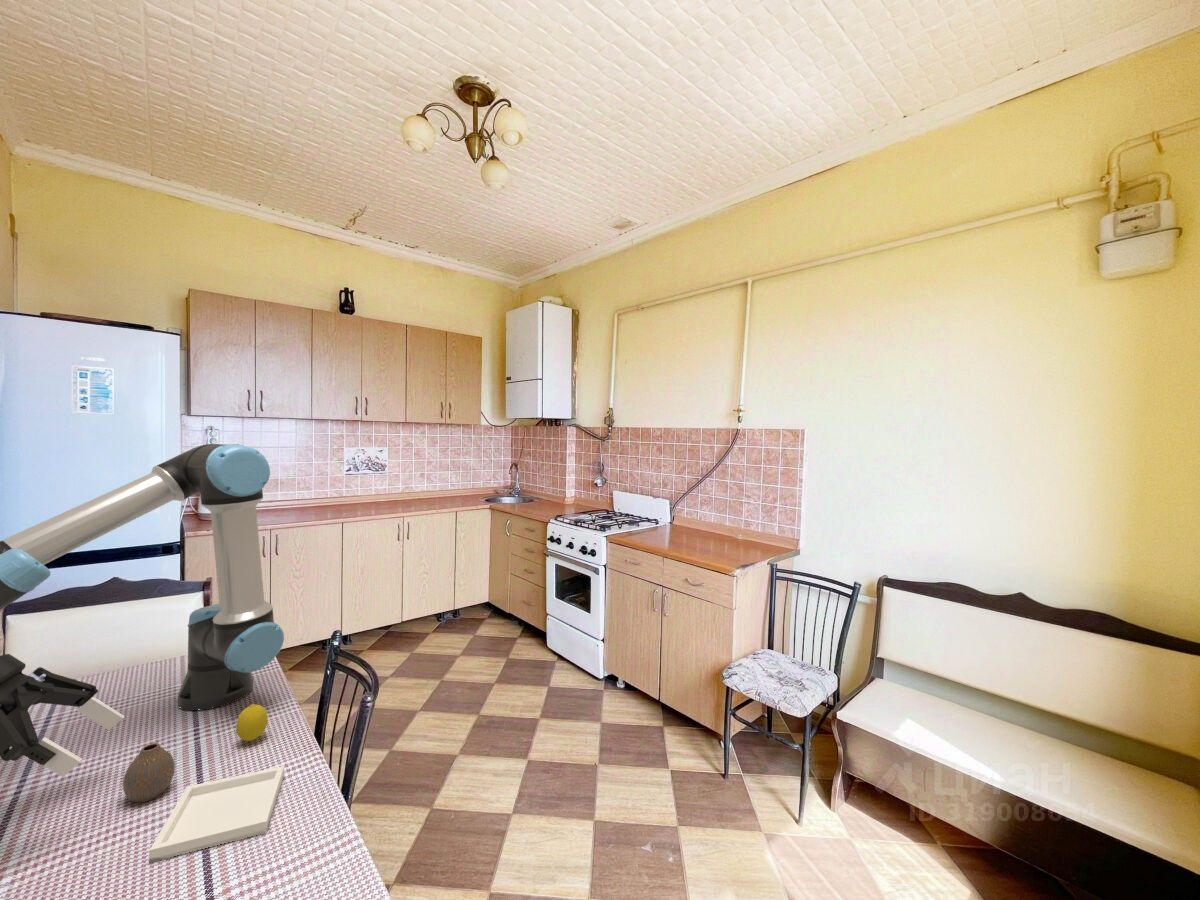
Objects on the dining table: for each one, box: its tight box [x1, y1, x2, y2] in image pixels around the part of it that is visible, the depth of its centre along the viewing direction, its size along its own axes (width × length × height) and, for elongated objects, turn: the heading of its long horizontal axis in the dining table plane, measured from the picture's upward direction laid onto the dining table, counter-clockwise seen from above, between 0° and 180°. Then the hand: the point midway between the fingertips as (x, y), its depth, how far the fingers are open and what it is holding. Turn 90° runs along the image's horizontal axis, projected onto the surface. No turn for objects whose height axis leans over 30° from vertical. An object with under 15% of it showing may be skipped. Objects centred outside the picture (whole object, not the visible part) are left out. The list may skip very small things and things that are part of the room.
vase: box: [122, 742, 176, 803], centre depth 87 cm, size 7×7×9 cm
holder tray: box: [148, 765, 285, 864], centre depth 83 cm, size 15×15×2 cm
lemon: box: [235, 703, 269, 743], centre depth 103 cm, size 6×6×8 cm
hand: (96, 744), depth 84 cm, fingers open, 13 cm apart
